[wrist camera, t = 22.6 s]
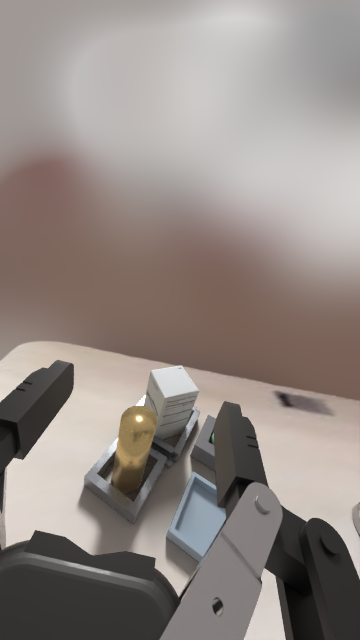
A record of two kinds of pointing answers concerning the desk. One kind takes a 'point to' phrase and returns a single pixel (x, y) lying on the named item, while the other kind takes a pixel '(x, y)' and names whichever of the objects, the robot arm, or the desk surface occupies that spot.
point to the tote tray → (197, 518)
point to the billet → (133, 447)
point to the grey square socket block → (205, 444)
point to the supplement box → (170, 399)
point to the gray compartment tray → (158, 460)
